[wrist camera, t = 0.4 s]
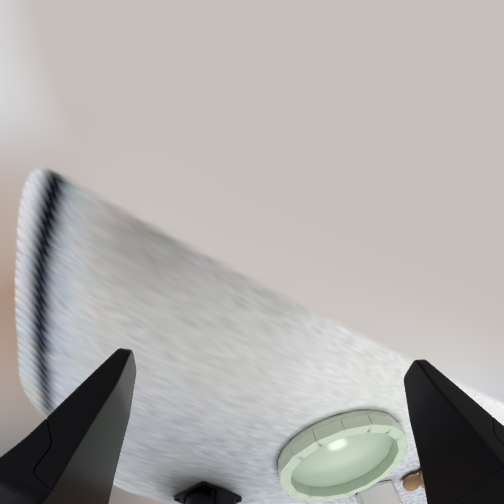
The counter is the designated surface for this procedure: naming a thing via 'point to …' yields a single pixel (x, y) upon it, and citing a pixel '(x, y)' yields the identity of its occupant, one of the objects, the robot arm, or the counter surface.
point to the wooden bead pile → (413, 481)
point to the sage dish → (341, 455)
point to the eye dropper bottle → (379, 494)
